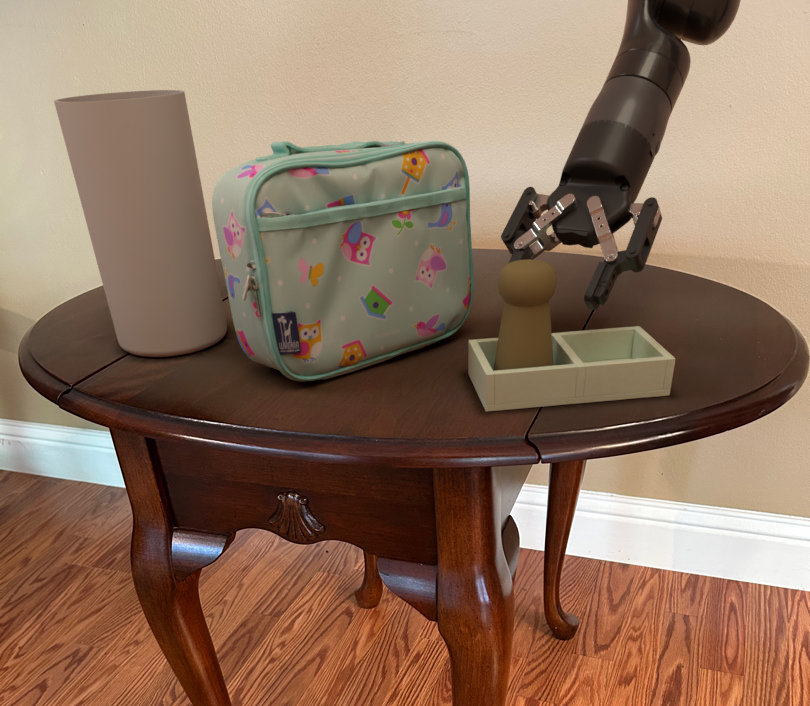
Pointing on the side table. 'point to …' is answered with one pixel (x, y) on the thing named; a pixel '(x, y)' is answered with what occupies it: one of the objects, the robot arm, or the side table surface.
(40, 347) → the side table surface
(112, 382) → the side table surface
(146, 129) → the cylinder vase
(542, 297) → the brown game pawn
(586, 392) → the compartment tray
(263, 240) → the lunch box
